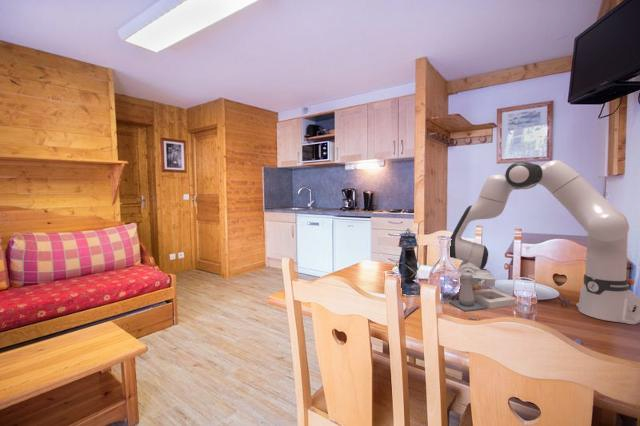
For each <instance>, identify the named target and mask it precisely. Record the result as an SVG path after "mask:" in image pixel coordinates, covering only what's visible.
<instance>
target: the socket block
mask: <svg viewBox="0 0 640 426" xmlns="http://www.w3.org/2000/svg"><path fill="white" fill-rule="evenodd" d="M473 294H474V302H476V303H478V304H480V305H482V306H484V307H487V308H488V309H496V308H503V307H511V306H516V305H515V301H516V299H515V298H516V297H514V296H512V295H510V294H507V293H504V292H502V291H499V290H497V289H494V288H485V289H476V290H473Z"/></svg>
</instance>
